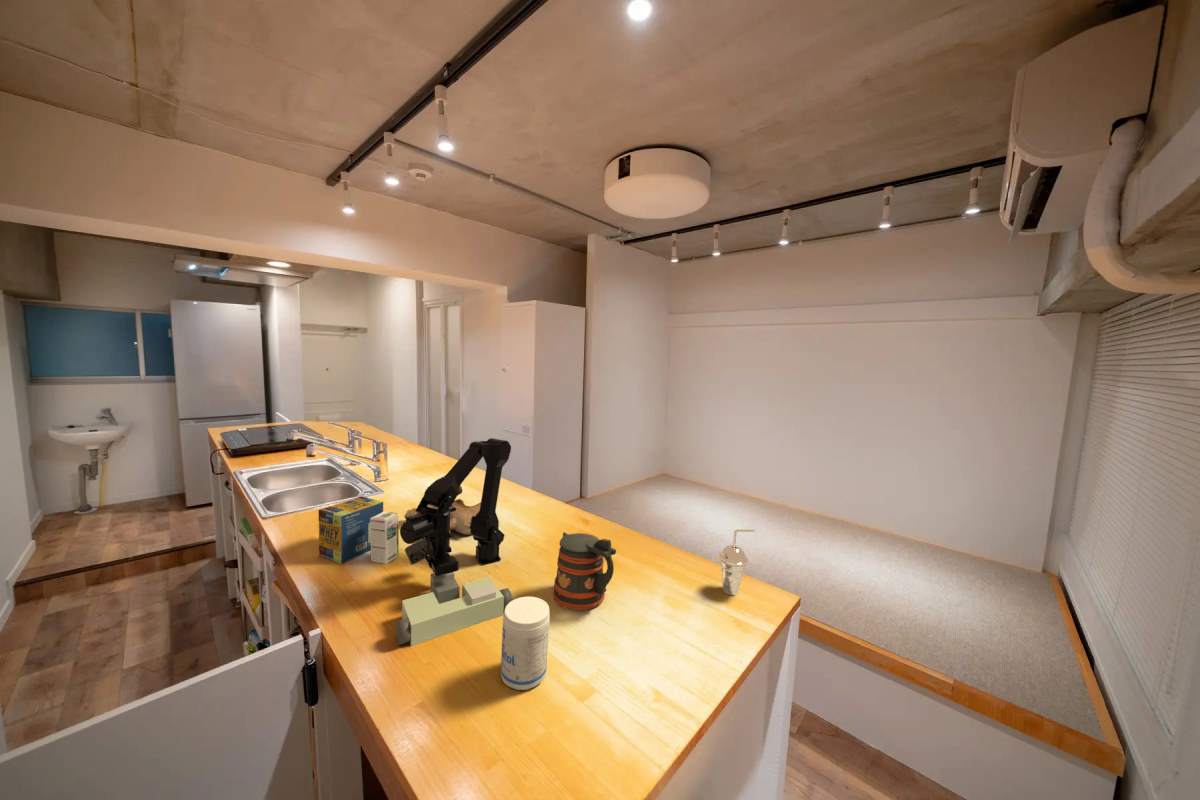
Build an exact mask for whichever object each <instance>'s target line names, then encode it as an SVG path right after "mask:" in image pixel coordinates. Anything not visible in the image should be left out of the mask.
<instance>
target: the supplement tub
mask: <svg viewBox="0 0 1200 800" xmlns="http://www.w3.org/2000/svg"><path fill="white" fill-rule="evenodd" d="M502 616H503V617H502V618H503V619H502V633H501V634H502V635H501V655H500V656H501V659H500V676H501V677H500V678H501V679H502V682H503V683H504V684H505V685H506V686H507V687H509V688H512V689H514V690H517V691H524V690H531V689H532V688H535V687H536V686H538V685H539V684H541V683H542V681H543V680H544V679H545V677H546V675H547V669H548V667H547V666H548V649H549V632H550V618H551V617H550V607H549V604H548V603H547V601H545V600H543V599H541V598H538V597H536V596H523V597H522V596H521V597H518V598H515V599H512V601H511V602H510V603H508V605H507V606H506V607H505V610H504V611H503V615H502Z"/></svg>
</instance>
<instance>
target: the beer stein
mask: <svg viewBox="0 0 1200 800" xmlns="http://www.w3.org/2000/svg"><path fill="white" fill-rule="evenodd" d="M616 554H617V549H615V548H613V547H612V541H611V539H606V538H602V539H599V538H598V537H597V536H594V535H592V534H588V533H582V532H581V533H579V532H578V533H576V532H575V533H566V532H563V533H562V537H561V538H560V540H559V551H558V557H557V563H556V564H557V571H556V576H555V579H554V582H553V583H554V585H553V586H554V587H553V593H552V595H553V597H552V598H553V601H554V602H555V603H556V605H558V606H559V607H561V608H564V609H565V608H566V609H568V610H572V611H589V610H592V609H594V608H596V607H598V606H600V605H601V603H603V602H604V600H605V595H606V592H607V588H606V587H607V586H608V585H609V583H610V581H611V580H612V578H613V576H614V569H615V568H614V567H615V566H614V561H613V558H612V556H613V555H616ZM605 561H606V566H607V567H606V568H607V569H606V571H605V572H604V563H605Z"/></svg>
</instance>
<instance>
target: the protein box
mask: <svg viewBox="0 0 1200 800" xmlns="http://www.w3.org/2000/svg"><path fill="white" fill-rule="evenodd" d="M382 512H384V501H380V500H377V499H373V498H371V497H366V496H362V495H361V496H358V497H355V498H352V499H348V500H346V501H342V502H340V503H337V504H336V503H335V504H333V505H331V506H328V507H324V508H321V509H318V556H319V557H320V558H323V559H325V560H329V561H331V562H334V563H337V564H340V565H341V564H345V563H347V562H349V561H351V560H353V559H355V558H357V557H360V556H362V555H364V554H367V553H369V552H371V528H370V518H372V517H374V516H376V515H378V514H380V513H382Z"/></svg>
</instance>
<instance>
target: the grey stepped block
mask: <svg viewBox="0 0 1200 800" xmlns="http://www.w3.org/2000/svg"><path fill="white" fill-rule="evenodd" d="M429 576H430V585H429V586H430V588H429V589H430V590H429V593H431V592H433V593H434V595H435V597H436V599H437V601H438V603H439V604H441V603H444V602H448V601H451V600H455V599H458V598H461V597H460V595H461V593H460V592H461V591H460V590H461V589H460V588H461V587H460V585H459V583H458V582H457V580H456V579H455V572H452V573H448V574H444V575H440V576H435V575H434V573H430V575H429Z"/></svg>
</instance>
